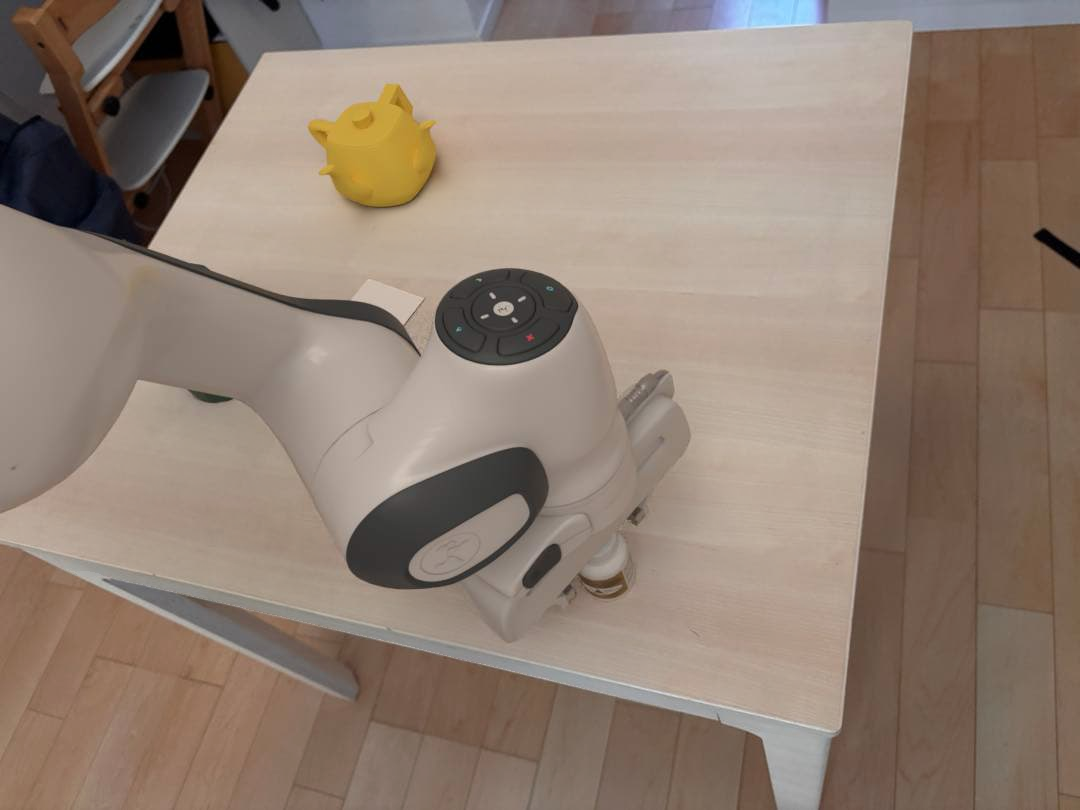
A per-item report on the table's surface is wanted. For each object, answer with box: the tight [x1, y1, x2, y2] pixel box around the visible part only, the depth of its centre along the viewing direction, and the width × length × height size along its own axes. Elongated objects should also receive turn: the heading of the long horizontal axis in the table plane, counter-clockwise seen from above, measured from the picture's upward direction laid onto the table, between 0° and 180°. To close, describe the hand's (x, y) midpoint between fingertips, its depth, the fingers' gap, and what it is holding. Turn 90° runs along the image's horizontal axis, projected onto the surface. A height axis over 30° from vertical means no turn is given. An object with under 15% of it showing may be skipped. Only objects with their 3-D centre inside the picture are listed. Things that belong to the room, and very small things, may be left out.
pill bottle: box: [577, 529, 636, 602], centre depth 67 cm, size 4×4×8 cm
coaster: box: [350, 278, 425, 326], centre depth 92 cm, size 8×8×1 cm
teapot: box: [307, 83, 437, 208], centre depth 100 cm, size 14×13×10 cm
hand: (600, 555), depth 67 cm, fingers open, 7 cm apart
